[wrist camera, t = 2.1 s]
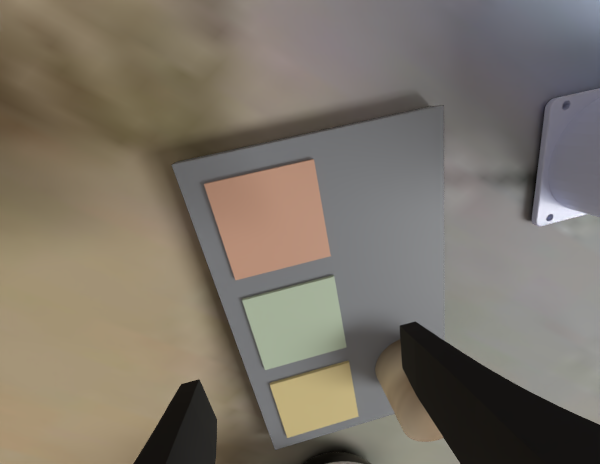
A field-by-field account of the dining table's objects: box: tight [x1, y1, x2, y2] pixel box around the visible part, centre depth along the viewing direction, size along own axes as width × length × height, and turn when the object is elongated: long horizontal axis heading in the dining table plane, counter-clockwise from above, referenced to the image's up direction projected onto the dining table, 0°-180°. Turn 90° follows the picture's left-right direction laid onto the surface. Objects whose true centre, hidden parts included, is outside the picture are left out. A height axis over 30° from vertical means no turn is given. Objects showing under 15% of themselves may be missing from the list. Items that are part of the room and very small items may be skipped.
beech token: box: [375, 340, 444, 442], centre depth 19 cm, size 5×5×4 cm
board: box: [172, 105, 445, 450], centre depth 19 cm, size 14×22×1 cm, turn 11°
